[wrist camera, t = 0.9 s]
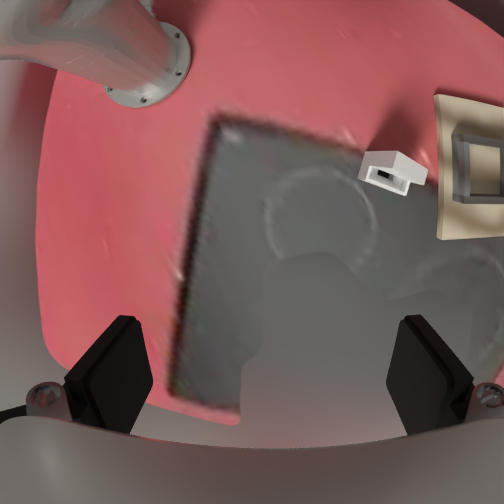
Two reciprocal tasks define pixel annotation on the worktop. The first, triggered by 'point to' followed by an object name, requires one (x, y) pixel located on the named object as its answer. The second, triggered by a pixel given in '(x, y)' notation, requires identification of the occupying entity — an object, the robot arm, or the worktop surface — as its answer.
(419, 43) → the worktop surface
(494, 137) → the board
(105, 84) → the robot arm
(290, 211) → the worktop surface
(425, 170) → the white wedge bracket
